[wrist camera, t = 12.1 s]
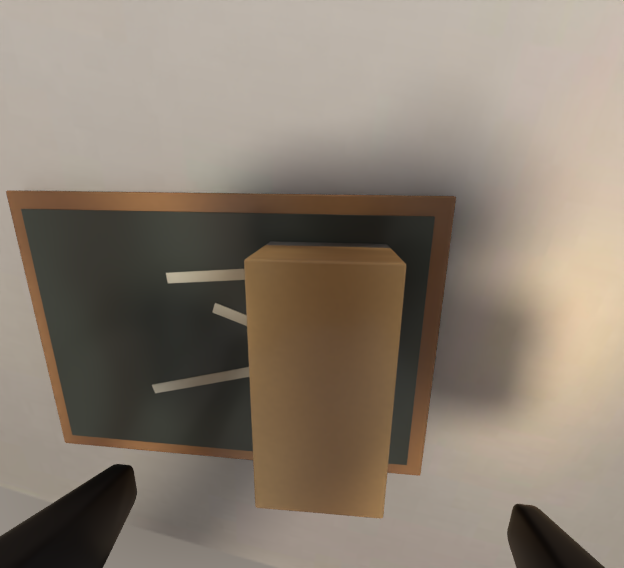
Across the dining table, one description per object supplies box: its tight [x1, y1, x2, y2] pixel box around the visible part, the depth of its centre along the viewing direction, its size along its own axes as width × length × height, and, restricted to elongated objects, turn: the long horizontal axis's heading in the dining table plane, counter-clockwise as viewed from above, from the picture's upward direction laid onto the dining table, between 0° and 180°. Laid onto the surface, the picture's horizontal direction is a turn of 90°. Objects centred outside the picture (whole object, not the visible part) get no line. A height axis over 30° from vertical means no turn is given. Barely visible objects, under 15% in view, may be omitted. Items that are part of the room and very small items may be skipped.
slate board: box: [6, 191, 456, 475], centre depth 16 cm, size 20×14×1 cm
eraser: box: [244, 241, 406, 518], centre depth 13 cm, size 5×10×4 cm, turn 179°
